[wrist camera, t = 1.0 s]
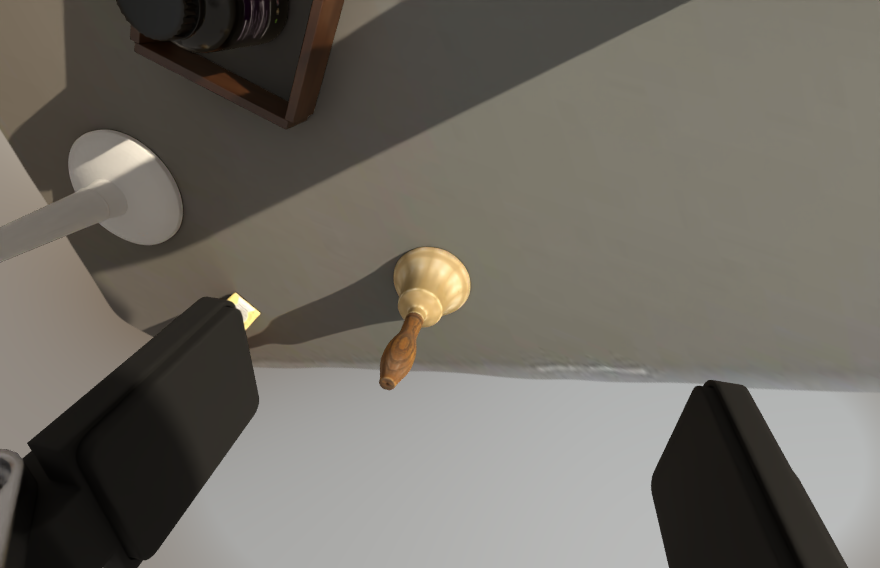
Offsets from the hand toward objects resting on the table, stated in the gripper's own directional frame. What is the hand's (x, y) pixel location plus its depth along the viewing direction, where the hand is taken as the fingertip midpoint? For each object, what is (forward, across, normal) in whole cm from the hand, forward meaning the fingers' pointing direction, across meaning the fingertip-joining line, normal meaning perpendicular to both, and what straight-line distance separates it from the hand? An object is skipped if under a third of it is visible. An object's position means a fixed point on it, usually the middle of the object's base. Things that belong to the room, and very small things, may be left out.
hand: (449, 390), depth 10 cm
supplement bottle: (+34, +23, -7) cm, 41 cm away
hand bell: (+34, +6, +18) cm, 39 cm away
